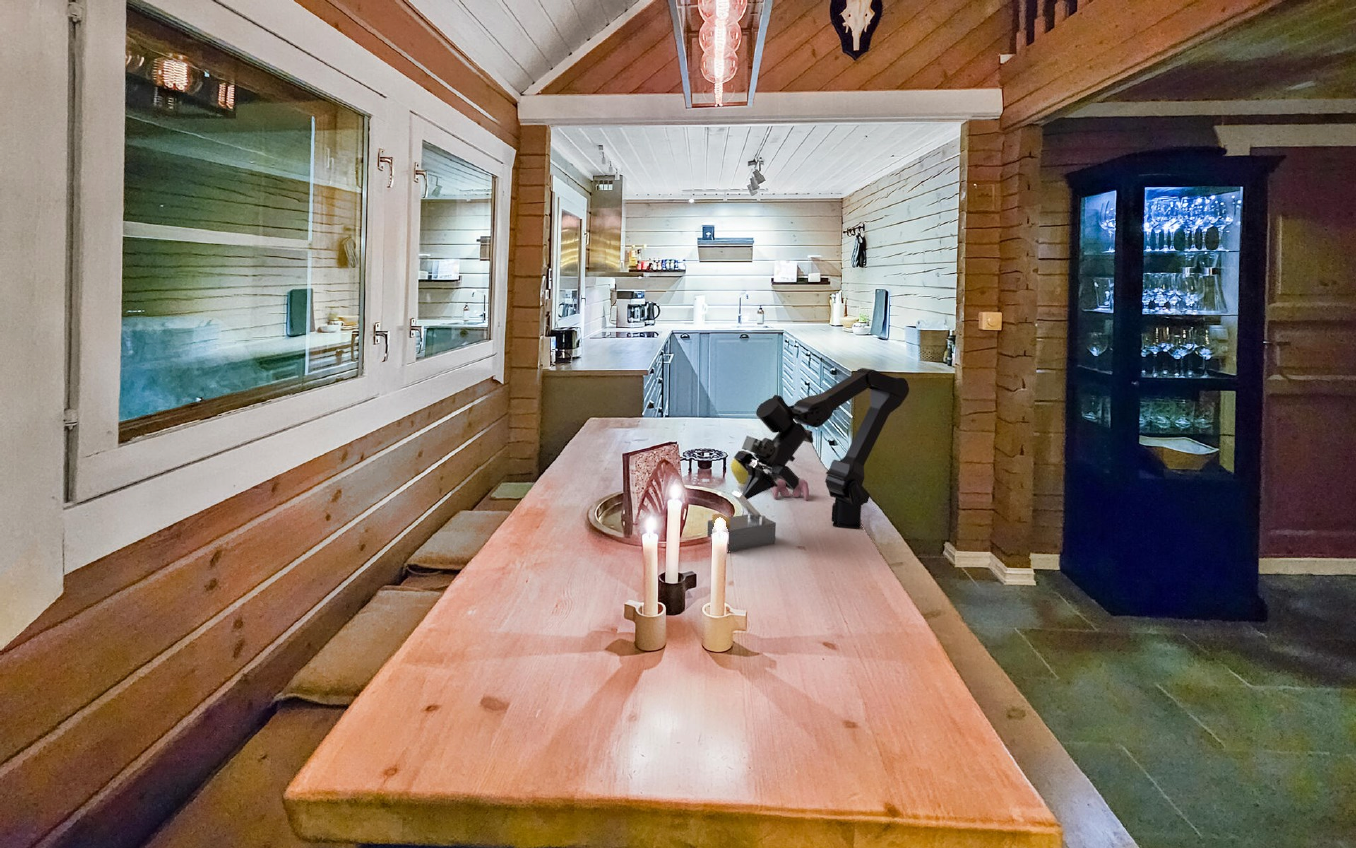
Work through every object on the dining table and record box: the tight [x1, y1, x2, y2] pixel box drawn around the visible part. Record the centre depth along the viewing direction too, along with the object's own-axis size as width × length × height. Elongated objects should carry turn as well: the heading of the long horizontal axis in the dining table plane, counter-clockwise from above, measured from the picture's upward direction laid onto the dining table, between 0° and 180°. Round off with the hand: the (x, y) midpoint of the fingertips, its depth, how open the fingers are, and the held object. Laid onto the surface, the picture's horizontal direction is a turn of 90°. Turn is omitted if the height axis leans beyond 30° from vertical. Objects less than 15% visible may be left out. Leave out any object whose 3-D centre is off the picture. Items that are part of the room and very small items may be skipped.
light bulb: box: [730, 458, 748, 492], centre depth 211 cm, size 7×7×10 cm
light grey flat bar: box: [731, 490, 762, 519], centre depth 167 cm, size 8×3×1 cm
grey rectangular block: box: [707, 511, 777, 554], centre depth 167 cm, size 13×8×7 cm, turn 118°
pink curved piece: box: [772, 477, 810, 501], centre depth 204 cm, size 10×5×7 cm, turn 85°
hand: (743, 498), depth 166 cm, fingers closed, pressing on light grey flat bar
